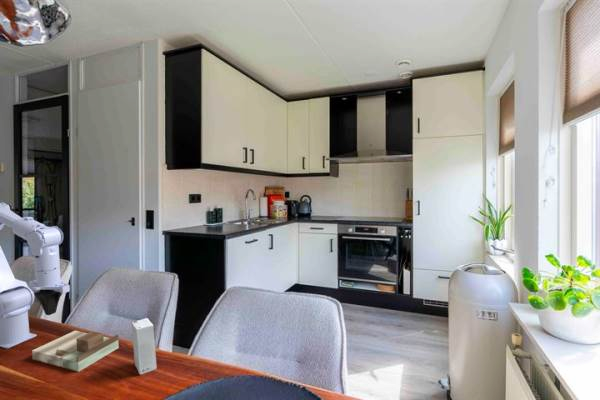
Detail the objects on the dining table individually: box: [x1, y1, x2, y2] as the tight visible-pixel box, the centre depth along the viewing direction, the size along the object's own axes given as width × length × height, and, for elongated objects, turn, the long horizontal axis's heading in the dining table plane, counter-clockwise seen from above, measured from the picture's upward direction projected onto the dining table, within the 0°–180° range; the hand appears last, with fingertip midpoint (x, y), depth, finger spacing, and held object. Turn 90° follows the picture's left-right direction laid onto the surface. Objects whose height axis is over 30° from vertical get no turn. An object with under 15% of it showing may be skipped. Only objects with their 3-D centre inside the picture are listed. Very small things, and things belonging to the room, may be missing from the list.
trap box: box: [31, 330, 120, 372], centre depth 90 cm, size 18×12×4 cm, turn 71°
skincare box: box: [131, 317, 157, 375], centre depth 83 cm, size 6×4×12 cm
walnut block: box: [76, 330, 104, 352], centre depth 88 cm, size 4×4×4 cm
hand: (50, 313), depth 93 cm, fingers closed
